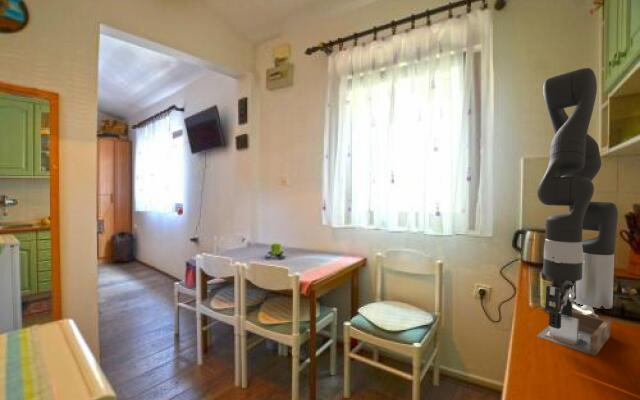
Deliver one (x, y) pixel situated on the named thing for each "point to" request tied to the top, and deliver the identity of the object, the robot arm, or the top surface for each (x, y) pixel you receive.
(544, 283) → the sauce bottle
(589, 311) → the pipe fitting
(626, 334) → the top surface
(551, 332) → the aluminium bracket
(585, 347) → the grey base plate
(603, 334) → the walnut corner walls
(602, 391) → the top surface
